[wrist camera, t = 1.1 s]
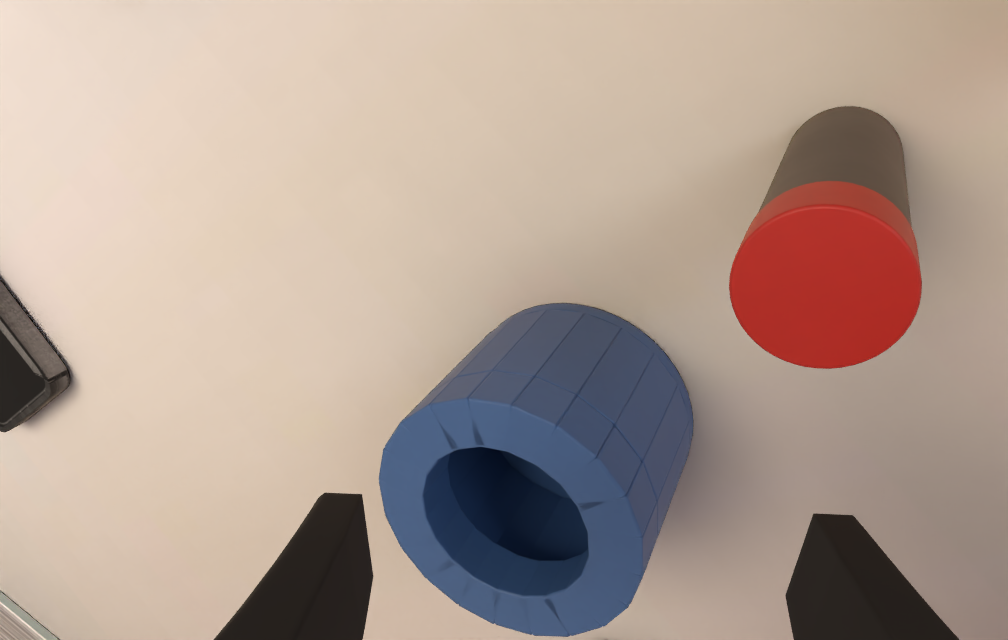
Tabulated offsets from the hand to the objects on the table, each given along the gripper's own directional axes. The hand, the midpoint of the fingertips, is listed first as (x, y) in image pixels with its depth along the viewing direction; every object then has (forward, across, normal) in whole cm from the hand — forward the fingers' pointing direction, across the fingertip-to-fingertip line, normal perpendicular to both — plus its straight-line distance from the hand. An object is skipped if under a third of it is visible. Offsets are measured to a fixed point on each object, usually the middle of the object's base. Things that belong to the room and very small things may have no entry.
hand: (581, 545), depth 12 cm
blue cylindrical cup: (+12, -1, +7) cm, 14 cm away
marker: (+11, -7, -2) cm, 13 cm away
